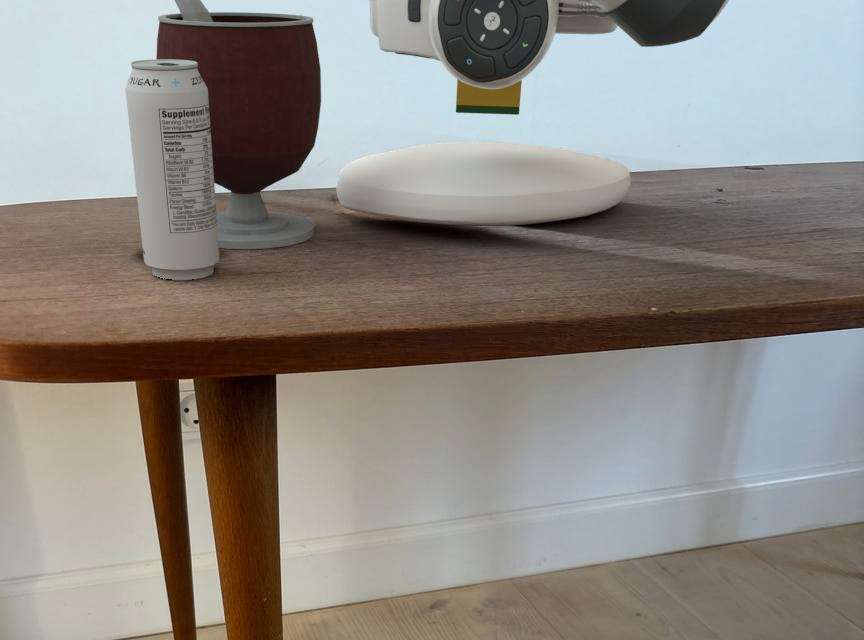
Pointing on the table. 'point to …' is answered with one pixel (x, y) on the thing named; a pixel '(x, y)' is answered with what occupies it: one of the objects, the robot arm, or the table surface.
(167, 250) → the energy drink can
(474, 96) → the dish wand
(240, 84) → the mate gourd
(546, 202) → the plate
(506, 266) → the table surface
